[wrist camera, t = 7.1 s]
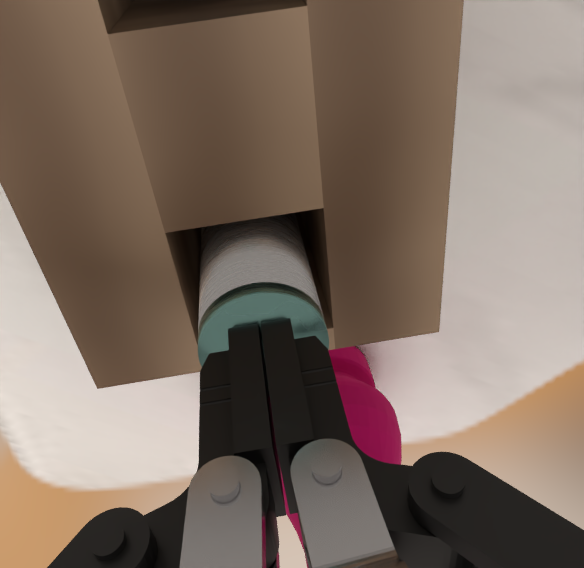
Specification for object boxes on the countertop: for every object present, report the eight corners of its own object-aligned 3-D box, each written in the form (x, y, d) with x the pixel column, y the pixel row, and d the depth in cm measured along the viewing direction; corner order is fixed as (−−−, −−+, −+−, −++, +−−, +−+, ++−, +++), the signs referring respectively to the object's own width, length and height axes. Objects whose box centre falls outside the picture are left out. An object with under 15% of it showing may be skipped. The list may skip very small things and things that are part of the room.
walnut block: (361, -252, 16) (492, -388, 8) (370, 204, 24) (439, 332, 17) (-19, -205, 15) (-229, -304, 8) (131, 241, 24) (97, 388, 17)
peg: (284, 153, 19) (324, 287, 12) (294, 232, 20) (333, 384, 14) (193, 167, 18) (184, 309, 12) (211, 245, 20) (211, 405, 14)
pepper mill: (255, 328, 28) (318, 913, 12) (388, 328, 29) (610, 861, 13) (247, 420, 32) (286, 948, 16) (363, 417, 33) (510, 906, 17)
